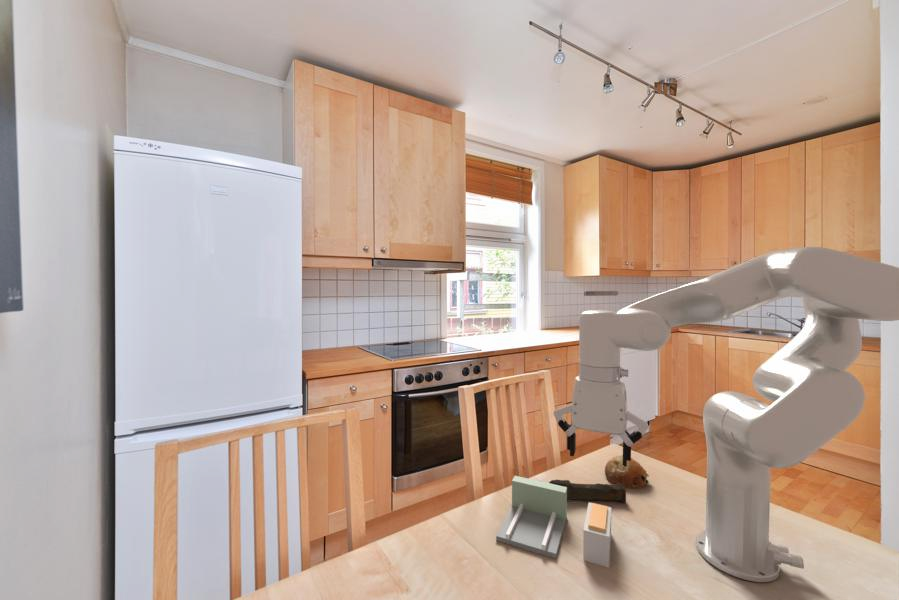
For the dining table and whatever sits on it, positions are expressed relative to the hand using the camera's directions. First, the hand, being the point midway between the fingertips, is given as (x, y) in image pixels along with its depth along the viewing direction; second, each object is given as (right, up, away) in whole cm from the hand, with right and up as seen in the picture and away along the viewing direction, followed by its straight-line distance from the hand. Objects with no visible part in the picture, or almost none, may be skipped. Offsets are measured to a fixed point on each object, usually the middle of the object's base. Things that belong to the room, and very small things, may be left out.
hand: (598, 458), depth 74 cm
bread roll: (+18, -17, +26) cm, 36 cm away
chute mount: (-12, -18, +6) cm, 22 cm away
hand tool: (+4, -18, +17) cm, 25 cm away
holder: (0, -18, +1) cm, 18 cm away
